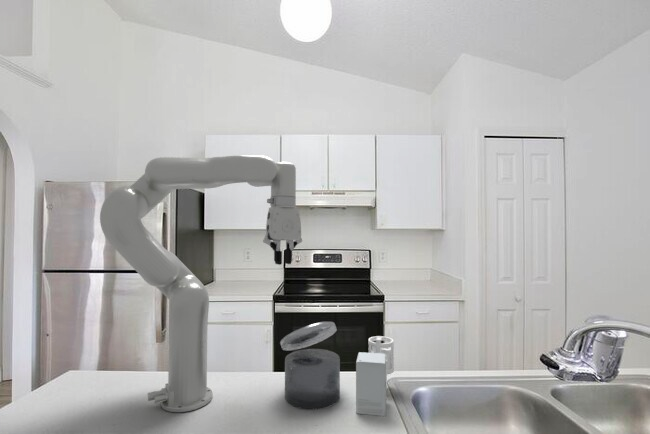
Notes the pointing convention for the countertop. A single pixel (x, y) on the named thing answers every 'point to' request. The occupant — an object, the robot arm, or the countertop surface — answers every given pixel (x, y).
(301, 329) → the lid
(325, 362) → the grey rounded cylinder
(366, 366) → the supplement box
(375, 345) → the white caged cylinder
